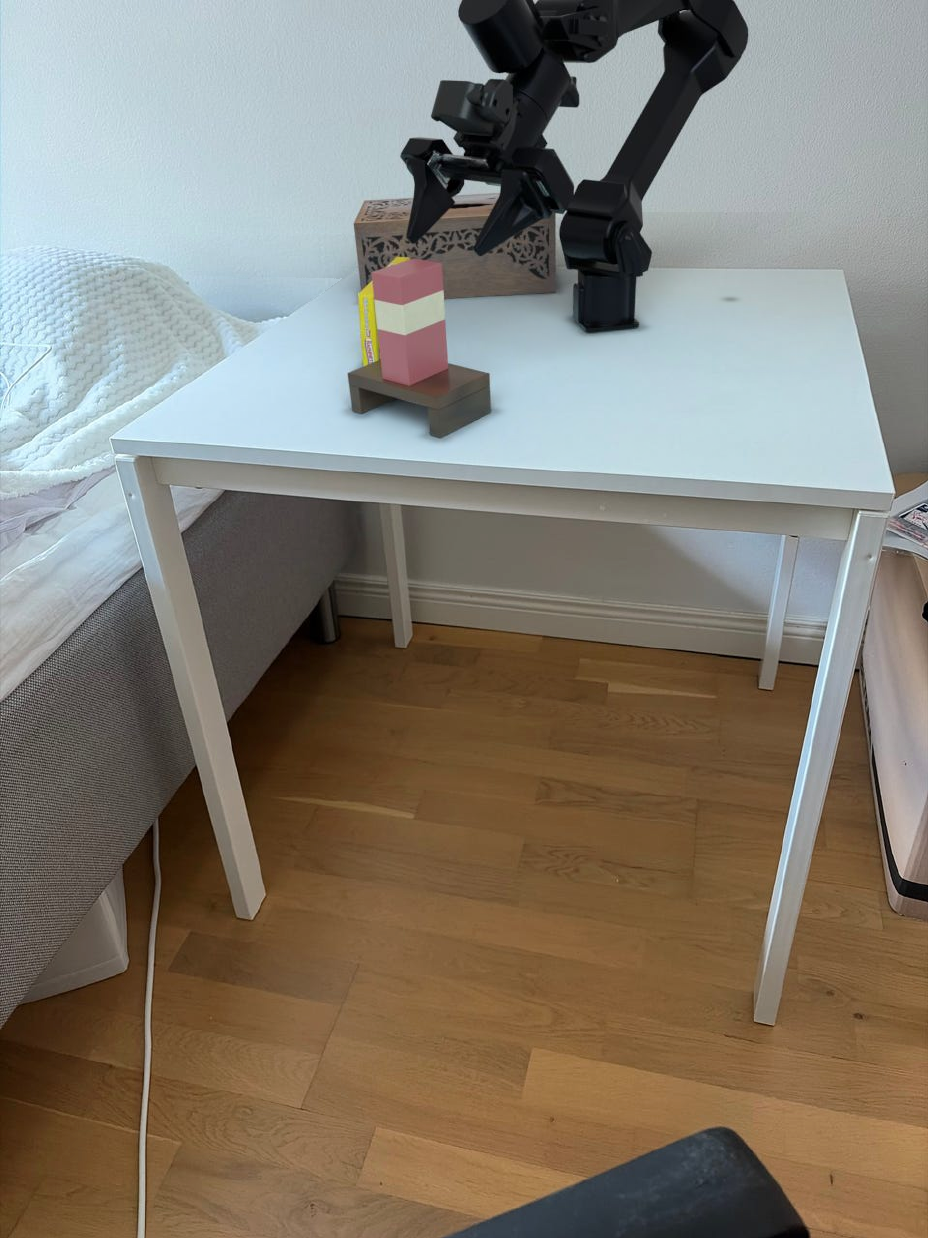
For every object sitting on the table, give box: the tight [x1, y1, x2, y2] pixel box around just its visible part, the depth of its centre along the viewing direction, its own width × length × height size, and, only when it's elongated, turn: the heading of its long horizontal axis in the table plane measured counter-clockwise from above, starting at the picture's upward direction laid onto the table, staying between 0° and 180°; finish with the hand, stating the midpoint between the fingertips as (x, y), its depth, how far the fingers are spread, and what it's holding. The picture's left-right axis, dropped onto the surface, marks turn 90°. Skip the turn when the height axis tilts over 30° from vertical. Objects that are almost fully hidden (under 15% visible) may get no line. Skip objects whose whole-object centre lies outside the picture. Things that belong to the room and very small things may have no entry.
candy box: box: [357, 257, 410, 367], centre depth 110 cm, size 16×2×8 cm, turn 168°
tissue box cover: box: [353, 192, 557, 299], centre depth 131 cm, size 26×14×10 cm, turn 89°
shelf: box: [347, 359, 492, 439], centre depth 94 cm, size 8×12×4 cm, turn 49°
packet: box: [372, 258, 449, 386], centre depth 90 cm, size 6×4×10 cm, turn 139°
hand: (442, 246), depth 92 cm, fingers open, 9 cm apart
